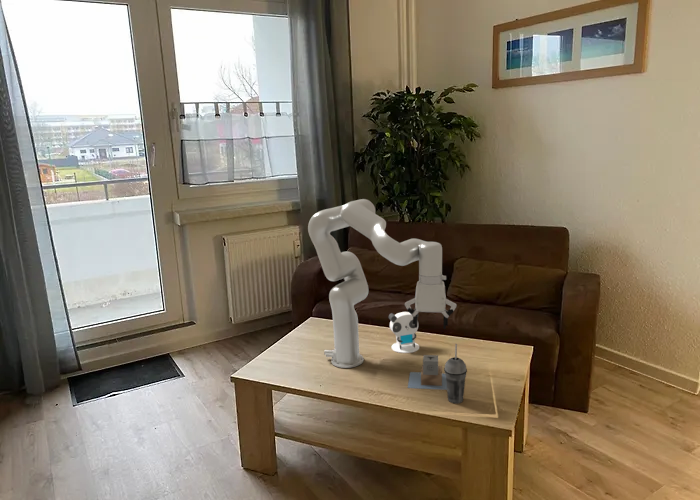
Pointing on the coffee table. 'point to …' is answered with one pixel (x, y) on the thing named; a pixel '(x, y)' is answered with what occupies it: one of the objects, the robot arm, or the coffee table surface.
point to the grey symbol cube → (430, 365)
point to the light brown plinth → (432, 378)
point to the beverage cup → (455, 378)
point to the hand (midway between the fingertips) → (430, 326)
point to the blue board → (416, 383)
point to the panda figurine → (403, 332)
